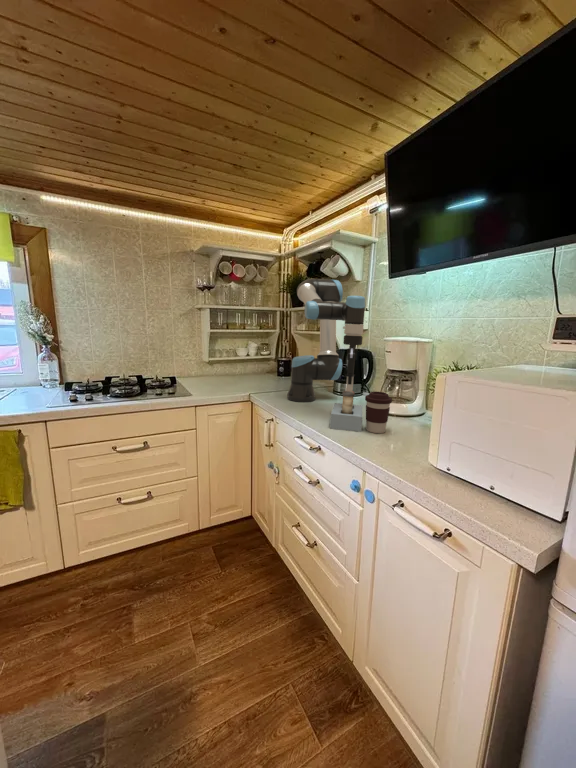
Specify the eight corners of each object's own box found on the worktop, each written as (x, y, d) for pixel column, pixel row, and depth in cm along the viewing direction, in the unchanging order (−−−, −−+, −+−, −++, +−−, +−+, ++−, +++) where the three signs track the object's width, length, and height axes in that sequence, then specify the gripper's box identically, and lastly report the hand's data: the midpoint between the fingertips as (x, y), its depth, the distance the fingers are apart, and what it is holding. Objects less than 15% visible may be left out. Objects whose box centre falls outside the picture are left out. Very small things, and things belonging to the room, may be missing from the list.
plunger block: (333, 416, 143) (334, 403, 142) (361, 418, 140) (362, 405, 139) (329, 428, 126) (330, 413, 124) (361, 431, 123) (362, 416, 122)
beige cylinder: (341, 412, 130) (342, 391, 129) (352, 413, 129) (354, 392, 128) (340, 415, 126) (342, 393, 124) (352, 416, 125) (354, 394, 123)
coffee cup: (393, 430, 125) (396, 393, 123) (381, 436, 118) (385, 397, 115) (370, 424, 132) (373, 389, 129) (357, 430, 125) (360, 392, 122)
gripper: (344, 334, 137) (341, 387, 142) (343, 335, 125) (339, 393, 129) (362, 335, 136) (358, 389, 140) (362, 335, 123) (358, 395, 128)
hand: (349, 391), depth 135 cm, fingers closed
